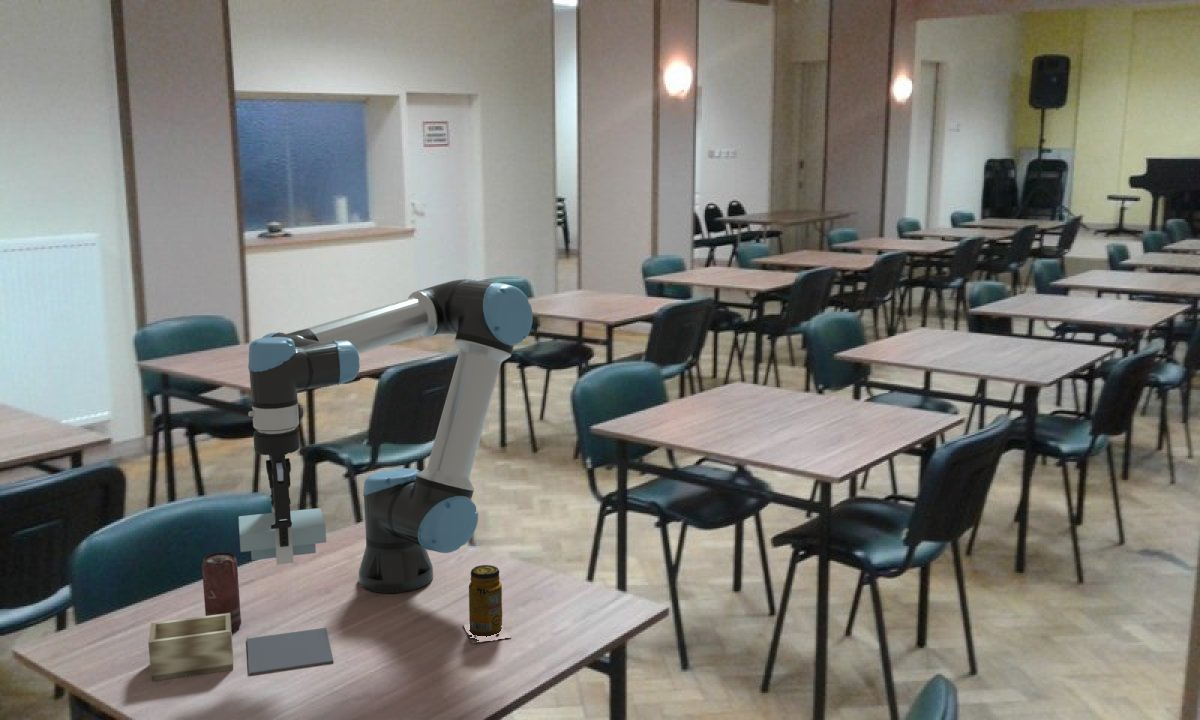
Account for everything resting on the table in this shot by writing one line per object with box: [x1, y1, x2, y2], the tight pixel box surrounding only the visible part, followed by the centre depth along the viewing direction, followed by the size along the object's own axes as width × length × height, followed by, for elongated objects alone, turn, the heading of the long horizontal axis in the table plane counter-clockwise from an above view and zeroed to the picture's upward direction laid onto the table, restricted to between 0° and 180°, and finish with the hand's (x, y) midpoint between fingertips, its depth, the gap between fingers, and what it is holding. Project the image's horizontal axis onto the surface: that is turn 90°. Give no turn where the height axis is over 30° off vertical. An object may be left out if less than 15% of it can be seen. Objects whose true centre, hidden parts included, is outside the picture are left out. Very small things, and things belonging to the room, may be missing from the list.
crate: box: [147, 613, 234, 682], centre depth 187 cm, size 13×8×7 cm, turn 109°
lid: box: [238, 507, 327, 561], centre depth 188 cm, size 14×10×6 cm
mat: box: [246, 627, 334, 676], centre depth 192 cm, size 14×14×1 cm
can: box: [201, 552, 242, 633], centre depth 201 cm, size 6×6×14 cm
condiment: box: [466, 564, 503, 644], centre depth 199 cm, size 7×8×12 cm
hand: (283, 552), depth 189 cm, fingers closed on lid, 10 cm apart
